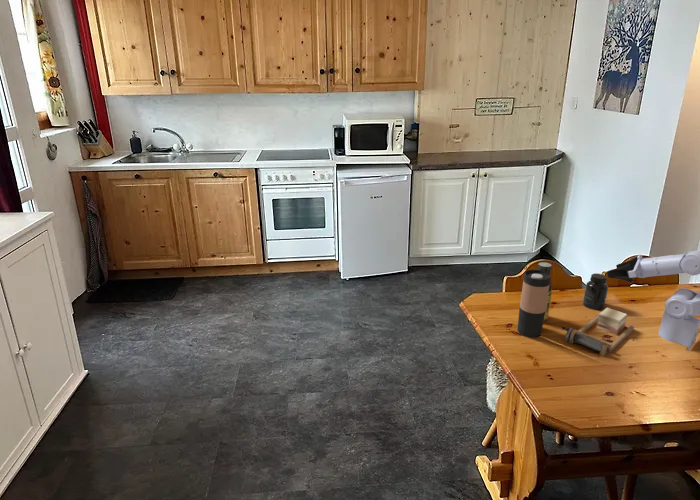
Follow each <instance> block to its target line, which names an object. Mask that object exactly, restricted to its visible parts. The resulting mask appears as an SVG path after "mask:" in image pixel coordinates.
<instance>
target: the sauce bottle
mask: <svg viewBox="0 0 700 500" xmlns="http://www.w3.org/2000/svg"><path fill="white" fill-rule="evenodd" d="M552 267H553V266H552V264H551V263H550V262H542V261H541V262H538V264H537V270H541V271H544V272H545V273H546V274H547V275H550V276H551V270H552ZM552 293H553V286H552V281H551V280H550V285H549V291H548V298H547V305H546V312H545V317H544V322H543V323H546V322H547V321H548V318H549V313H550V307H551V300H552Z"/></svg>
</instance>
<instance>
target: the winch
mask: <svg viewBox="0 0 700 500" xmlns="http://www.w3.org/2000/svg"><path fill="white" fill-rule="evenodd" d="M561 329H562V330H563V331H566V335H565V341H567V342H568V343H569V344H571V345H573V344H574V343H577V344H580V345H582V346H584V347H587V348H590V349H592V350H595V351H597V352H599V356H602V357H605V356H606V355H607V348H608V344H607V343H605V342H604V343H603V342H600V341H598V340H595V339H592V338H590V337H587V336H585V335H582V334H579V333H577V332H576V331H574V330H575V329H574V328H572V327H567V326H565V325H563V326H562V328H561Z"/></svg>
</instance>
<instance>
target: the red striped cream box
mask: <svg viewBox="0 0 700 500" xmlns="http://www.w3.org/2000/svg"><path fill="white" fill-rule="evenodd" d="M598 314H599V318H598V321H597V322H596V328H597V329H599V330H602V331H605V332H607V333H609V334H613V335H615V336H616V335H618V334H619V333H620V332H622V330H624V329H625V325H626V320H627V317H628V313H624V312H622V311H618V310H616V309H612V308H610V307H606V308H604V309H602V310H601V312H600V313H598Z"/></svg>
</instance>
